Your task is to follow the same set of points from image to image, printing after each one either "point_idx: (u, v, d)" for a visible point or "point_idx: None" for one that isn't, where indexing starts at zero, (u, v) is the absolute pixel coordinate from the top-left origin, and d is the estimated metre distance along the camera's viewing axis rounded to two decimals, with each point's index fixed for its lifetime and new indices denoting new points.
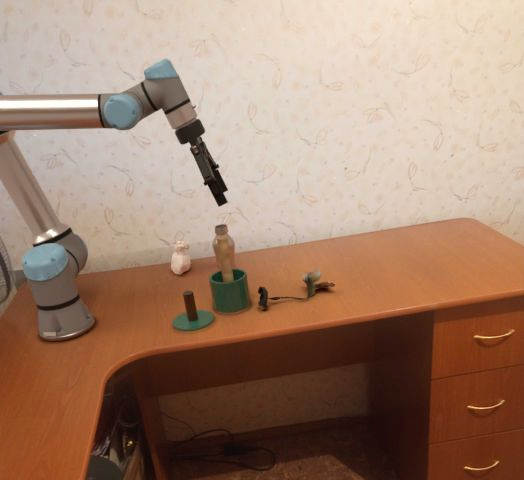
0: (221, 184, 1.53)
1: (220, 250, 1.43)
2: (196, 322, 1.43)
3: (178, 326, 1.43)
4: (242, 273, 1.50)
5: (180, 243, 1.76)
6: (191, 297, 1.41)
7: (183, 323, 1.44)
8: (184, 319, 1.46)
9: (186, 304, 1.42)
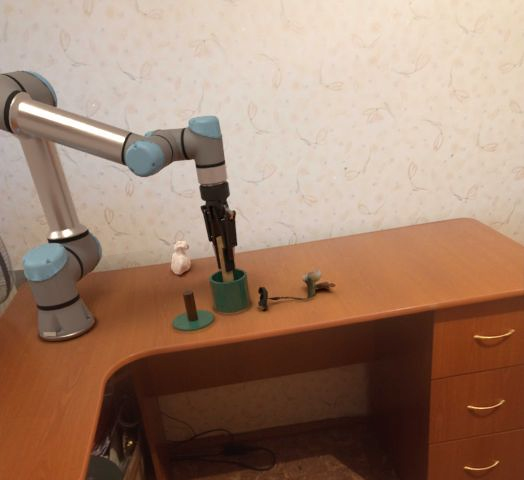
0: None
1: (220, 250, 1.43)
2: (196, 322, 1.43)
3: (178, 326, 1.43)
4: (242, 273, 1.50)
5: (180, 243, 1.76)
6: (191, 297, 1.41)
7: (183, 323, 1.44)
8: (184, 319, 1.46)
9: (186, 304, 1.42)
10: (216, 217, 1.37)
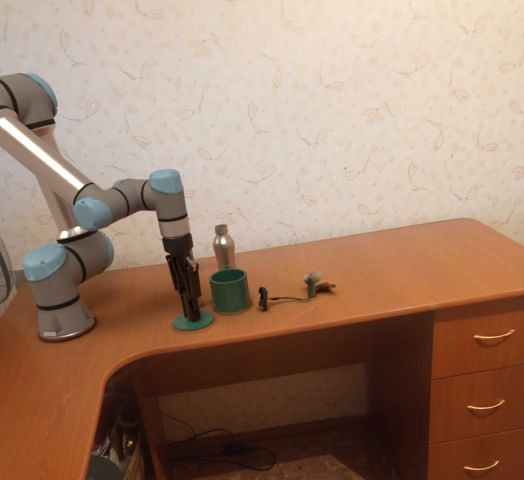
0: None
1: None
2: (196, 322, 1.43)
3: (178, 326, 1.43)
4: (242, 273, 1.50)
5: None
6: None
7: (183, 323, 1.44)
8: (184, 319, 1.46)
9: (186, 304, 1.42)
10: (179, 268, 1.36)
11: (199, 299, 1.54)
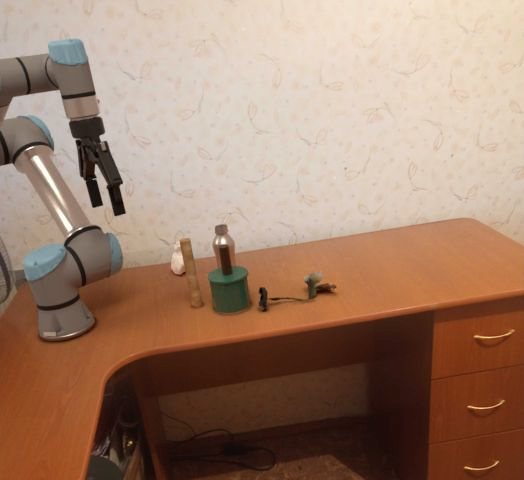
0: (97, 197, 1.35)
1: (183, 252, 1.46)
2: (231, 276, 1.45)
3: (213, 279, 1.45)
4: None
5: None
6: (227, 250, 1.43)
7: (218, 277, 1.46)
8: (219, 274, 1.48)
9: (222, 258, 1.44)
10: (91, 156, 1.22)
11: (199, 299, 1.54)
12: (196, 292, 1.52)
